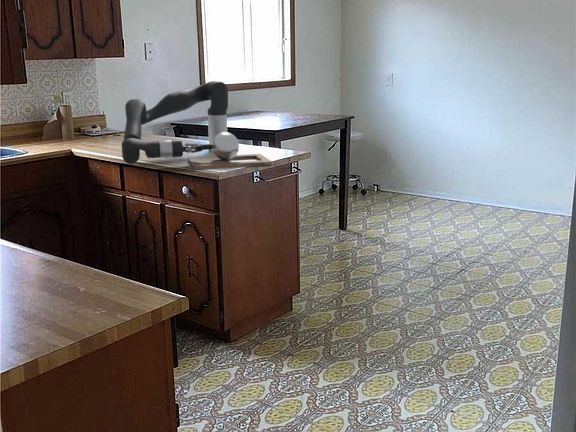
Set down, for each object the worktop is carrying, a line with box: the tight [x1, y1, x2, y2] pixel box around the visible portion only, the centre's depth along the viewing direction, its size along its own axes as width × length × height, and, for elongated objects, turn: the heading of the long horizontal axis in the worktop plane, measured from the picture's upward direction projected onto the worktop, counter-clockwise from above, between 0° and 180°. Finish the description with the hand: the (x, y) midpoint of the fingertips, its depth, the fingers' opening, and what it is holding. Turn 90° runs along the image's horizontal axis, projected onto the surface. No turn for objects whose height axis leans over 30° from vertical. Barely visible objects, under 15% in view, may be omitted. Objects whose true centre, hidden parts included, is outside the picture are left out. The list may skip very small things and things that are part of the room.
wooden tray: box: [187, 153, 273, 170], centre depth 274 cm, size 22×33×2 cm, turn 106°
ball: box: [211, 131, 240, 161], centre depth 272 cm, size 12×12×12 cm
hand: (211, 146), depth 270 cm, fingers closed
